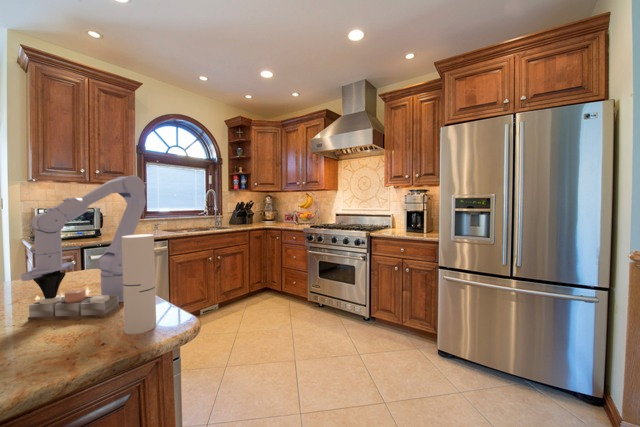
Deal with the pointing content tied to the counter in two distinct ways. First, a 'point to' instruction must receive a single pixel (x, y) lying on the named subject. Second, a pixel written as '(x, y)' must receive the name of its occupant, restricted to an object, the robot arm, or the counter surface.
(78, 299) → the middle knob
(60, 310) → the mount
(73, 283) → the counter surface
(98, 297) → the knob
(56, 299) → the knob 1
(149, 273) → the cylindrical container
